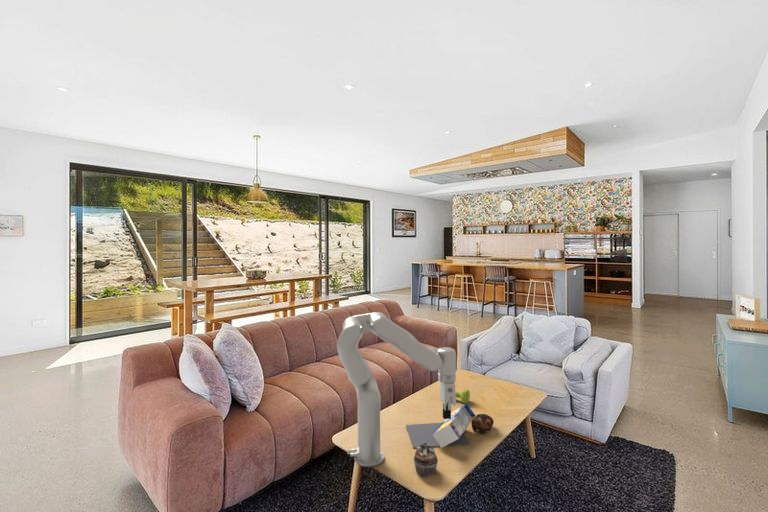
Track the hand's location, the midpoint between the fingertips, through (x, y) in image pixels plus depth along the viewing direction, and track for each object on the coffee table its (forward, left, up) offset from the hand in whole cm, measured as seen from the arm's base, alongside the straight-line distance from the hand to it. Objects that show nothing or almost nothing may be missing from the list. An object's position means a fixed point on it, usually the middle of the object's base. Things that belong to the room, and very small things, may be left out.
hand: (446, 418), depth 163 cm
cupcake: (-12, -12, -15) cm, 23 cm away
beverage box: (0, +1, -9) cm, 9 cm away
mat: (-1, +14, -15) cm, 21 cm away
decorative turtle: (+22, +15, -15) cm, 31 cm away
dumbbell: (+19, +50, -15) cm, 56 cm away
